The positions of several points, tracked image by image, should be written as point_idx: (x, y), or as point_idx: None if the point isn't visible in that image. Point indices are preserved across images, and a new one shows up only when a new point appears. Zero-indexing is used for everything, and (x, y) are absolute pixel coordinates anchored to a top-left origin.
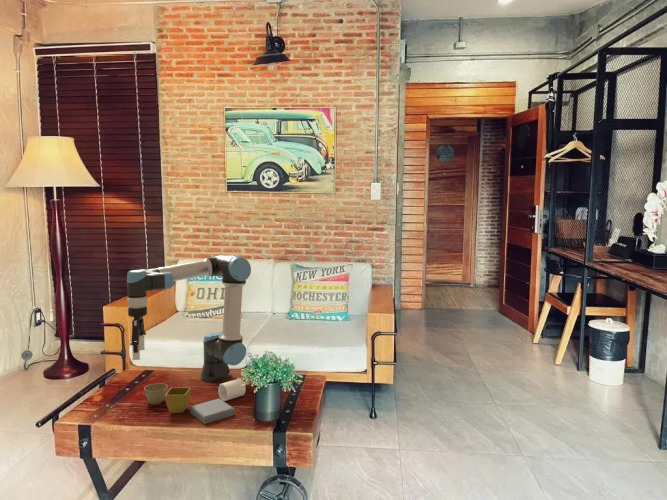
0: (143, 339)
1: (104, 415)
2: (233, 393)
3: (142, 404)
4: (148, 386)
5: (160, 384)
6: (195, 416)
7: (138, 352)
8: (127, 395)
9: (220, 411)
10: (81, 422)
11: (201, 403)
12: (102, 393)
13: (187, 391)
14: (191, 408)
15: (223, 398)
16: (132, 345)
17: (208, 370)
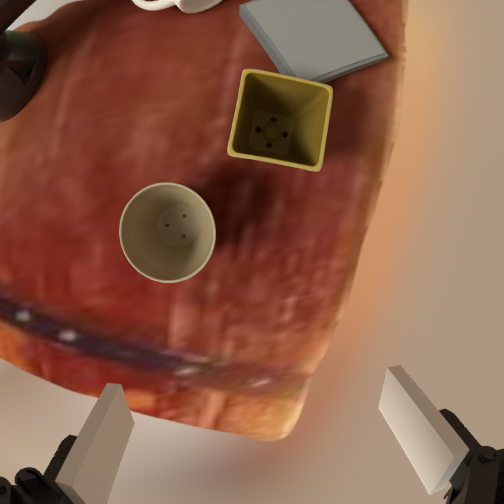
0: (88, 458)
1: (264, 363)
2: None
3: None
4: (142, 269)
5: (124, 221)
6: (332, 79)
7: (427, 406)
8: (114, 330)
9: (353, 10)
10: (298, 400)
11: (282, 51)
12: None
13: (295, 78)
14: None
15: (204, 4)
16: (441, 484)
17: (13, 77)
